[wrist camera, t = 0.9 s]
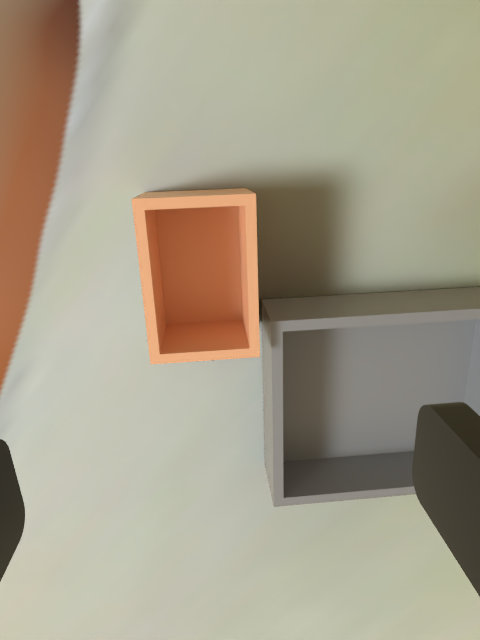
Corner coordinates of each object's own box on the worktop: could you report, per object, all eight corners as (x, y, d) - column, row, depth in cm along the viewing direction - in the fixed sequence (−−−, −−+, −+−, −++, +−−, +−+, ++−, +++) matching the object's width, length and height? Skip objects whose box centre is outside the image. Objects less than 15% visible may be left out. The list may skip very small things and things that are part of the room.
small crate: (145, 192, 24) (131, 198, 19) (245, 188, 25) (256, 193, 20) (159, 329, 27) (150, 364, 22) (249, 323, 27) (259, 357, 22)
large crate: (261, 299, 27) (271, 321, 23) (484, 286, 28) (528, 305, 24) (265, 464, 31) (273, 506, 27) (459, 448, 32) (494, 487, 28)
